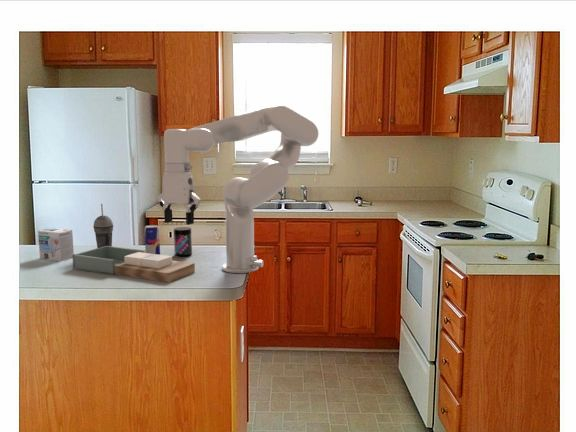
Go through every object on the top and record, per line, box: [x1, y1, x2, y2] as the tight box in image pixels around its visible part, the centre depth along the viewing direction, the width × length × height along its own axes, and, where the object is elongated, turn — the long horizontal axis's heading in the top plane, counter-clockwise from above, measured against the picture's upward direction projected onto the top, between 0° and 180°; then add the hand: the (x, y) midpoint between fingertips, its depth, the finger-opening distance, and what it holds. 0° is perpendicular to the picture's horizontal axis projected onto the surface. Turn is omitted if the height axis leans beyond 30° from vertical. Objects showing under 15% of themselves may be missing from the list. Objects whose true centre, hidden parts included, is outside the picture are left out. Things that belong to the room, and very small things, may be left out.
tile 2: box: [142, 254, 173, 268], centre depth 176 cm, size 7×7×2 cm
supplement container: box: [173, 226, 193, 258], centre depth 201 cm, size 7×7×10 cm
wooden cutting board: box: [115, 259, 196, 283], centre depth 177 cm, size 22×14×3 cm, turn 65°
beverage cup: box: [92, 203, 114, 248], centre depth 199 cm, size 7×7×20 cm
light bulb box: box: [37, 227, 75, 262], centre depth 197 cm, size 11×7×11 cm, turn 68°
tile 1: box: [124, 252, 155, 266], centre depth 179 cm, size 7×7×2 cm
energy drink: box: [144, 224, 161, 255], centre depth 198 cm, size 5×5×12 cm
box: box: [72, 245, 145, 276], centre depth 185 cm, size 18×16×5 cm
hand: (179, 222), depth 170 cm, fingers open, 7 cm apart
